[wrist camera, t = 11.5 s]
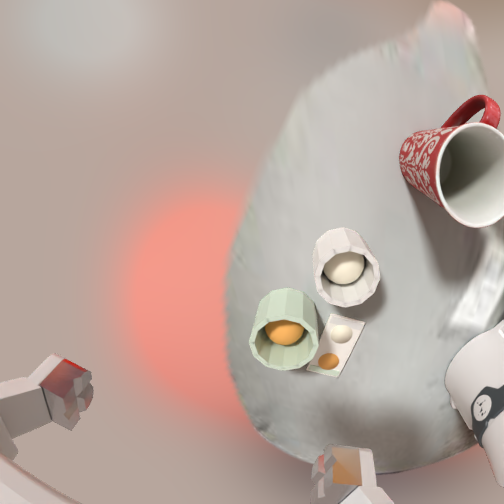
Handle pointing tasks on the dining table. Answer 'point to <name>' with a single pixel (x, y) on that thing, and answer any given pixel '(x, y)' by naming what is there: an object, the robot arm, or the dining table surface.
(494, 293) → the dining table surface
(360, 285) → the tube grey
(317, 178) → the dining table surface
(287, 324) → the ball orange
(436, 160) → the mug
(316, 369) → the card
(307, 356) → the tube green
